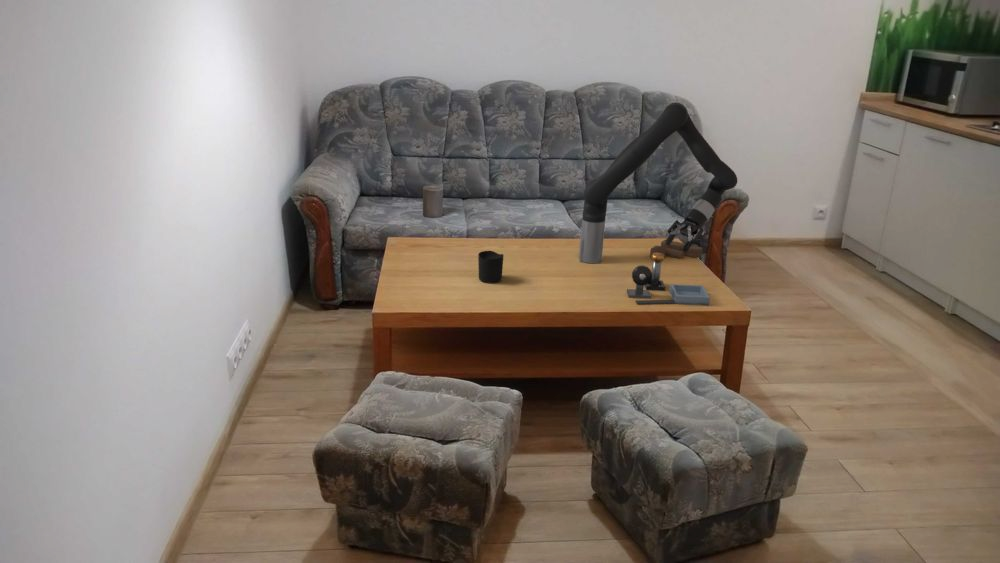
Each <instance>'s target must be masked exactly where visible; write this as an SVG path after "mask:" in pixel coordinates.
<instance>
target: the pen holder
mask: <svg viewBox="0 0 1000 563" xmlns="http://www.w3.org/2000/svg"><path fill="white" fill-rule="evenodd" d="M477 256H478V261H477V262H478V280H479V281H481V282H482V283H487V284H497V283H500V282H501V281H502V279H503V278H502V277H503V269H504V268H503V264H504V253H503V254H502V253H497V252H496V251H493V250H483V251H480V252H478V255H477Z"/></svg>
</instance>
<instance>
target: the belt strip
mask: <svg viewBox="0 0 1000 563" xmlns="http://www.w3.org/2000/svg"><path fill="white" fill-rule="evenodd" d="M635 304H637V305H639V306H640V305H643V306H644V305H676V304H675V301H674V300H673V299H648V300H647V299H645V300H642V299H641V300H639V299H638V300H637V299H635Z"/></svg>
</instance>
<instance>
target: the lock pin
mask: <svg viewBox="0 0 1000 563" xmlns="http://www.w3.org/2000/svg"><path fill="white" fill-rule="evenodd" d="M651 260H652V263H651V264H652V265H651V273H652V280H651V282H650V284H649V285H651V286H660V285H659V280H660V277H661V270H662V262H664V254H662V253H652V258H651Z"/></svg>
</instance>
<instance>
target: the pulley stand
mask: <svg viewBox="0 0 1000 563" xmlns="http://www.w3.org/2000/svg"><path fill="white" fill-rule="evenodd" d="M631 279H632V280H633V282H634V284H635V289H634V288H627V290H626V293H627V297H628V298H631V299H632V298H633V299H648V300H652V295H651V292H650V290H646V289H644V288H645V285H647V284H648V283H650V281H651V280H652V269H650V267H649V266H647V265H637V266H636V267H634V269H633V270H632V272H631Z"/></svg>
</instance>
